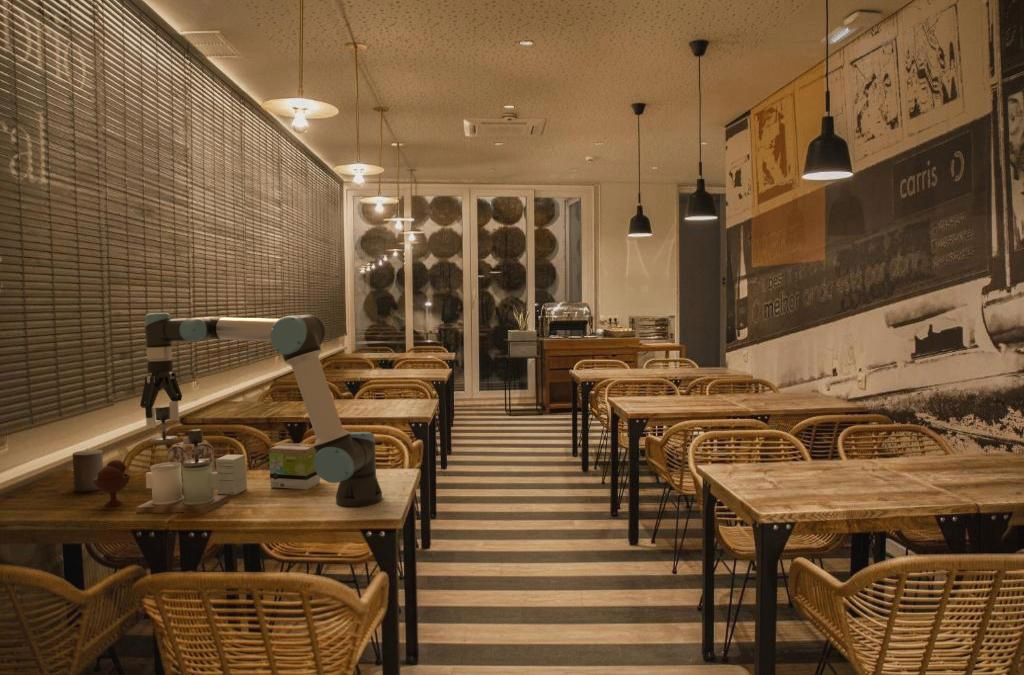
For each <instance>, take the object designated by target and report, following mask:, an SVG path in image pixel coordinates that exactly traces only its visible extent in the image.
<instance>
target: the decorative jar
mask: <svg viewBox="0 0 1024 675" xmlns="http://www.w3.org/2000/svg"><path fill="white" fill-rule="evenodd" d="M182 440H183V441H179V442H176V443H174V444H173V445H171V447H170V448H169V449H168V450H167V462H179V463H181V467H182V466H184V462H185V461H189V460H194V459H195V455H194V444H189V443H188V436H184V437H183V438H182ZM214 451H215V450H214V447H213V445H212V444H211V443H210V442H209V441H207V440H206V439H205V440H204V439H203V442H202V443H198V456H199V459H209V460H210V463H212V472H216V466H215V465H216V462H215V452H214ZM181 478H182V490H183V474H182V468H181Z"/></svg>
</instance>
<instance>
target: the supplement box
mask: <svg viewBox="0 0 1024 675" xmlns="http://www.w3.org/2000/svg"><path fill="white" fill-rule="evenodd" d="M246 462H247V461H246V455H245V454H225V455H223V456H221V457H219V458H215V465H216V466H215V471H216V472H218V479H219V487H218V488H217V494H218V495H232V496H233V495H236V496H237V495H238V494H239V493H242V492H244V491H246V490H247V489H248V484H247V465H246Z"/></svg>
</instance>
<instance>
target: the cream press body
mask: <svg viewBox="0 0 1024 675" xmlns="http://www.w3.org/2000/svg"><path fill="white" fill-rule="evenodd" d="M149 470H150V471H148V472H146V473H145V485H146V489H151V490H152V491H151V492H152V495H151V496H152V499H151V500H152V504H154V505H168V504H174V503H178V502H180V501H182V500H183V499H184V497H183V496H182V495H183V489H182V478H181V463H179V462H168V461H167V462H160V463H157V464H153V465H150V467H149Z"/></svg>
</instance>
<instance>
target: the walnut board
mask: <svg viewBox="0 0 1024 675" xmlns="http://www.w3.org/2000/svg"><path fill="white" fill-rule="evenodd" d="M182 496H183V497H184V494H182ZM213 496H214V498H215V500H214V501H212V502H210V503H206V504H201V505H184V504H183V500H184V499H183V500H182V501H180V502H178V503H174V504H168V505H154V504H152V500H153V499H150V500H149V501H146V502H144V503H141V504H140V505H138V506H136V513H147V514H151V513H152V514H153V513H154V514H155V513H156V514H158V513H161V514H162V513H167V514H171V513H173V514H175V513H176V512H184V513H185V514H208V513H209V512H211V511H213V510H214V509H217V508H218V507H220V506H221V505H223V504H225V503H227V502H228V501H229V494H218V495H215V494H213ZM176 514H177V513H176Z"/></svg>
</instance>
